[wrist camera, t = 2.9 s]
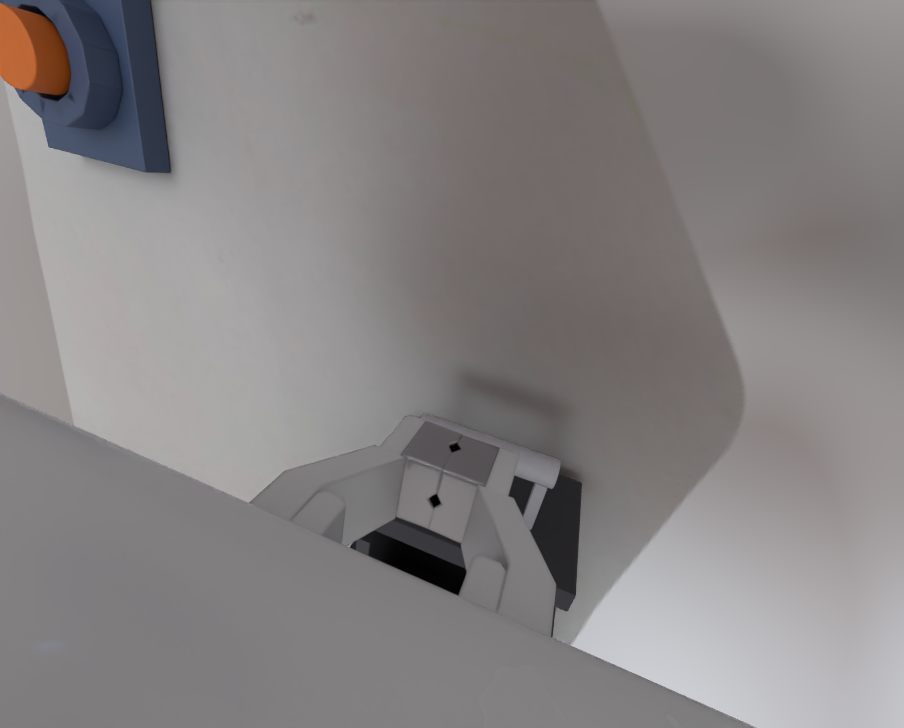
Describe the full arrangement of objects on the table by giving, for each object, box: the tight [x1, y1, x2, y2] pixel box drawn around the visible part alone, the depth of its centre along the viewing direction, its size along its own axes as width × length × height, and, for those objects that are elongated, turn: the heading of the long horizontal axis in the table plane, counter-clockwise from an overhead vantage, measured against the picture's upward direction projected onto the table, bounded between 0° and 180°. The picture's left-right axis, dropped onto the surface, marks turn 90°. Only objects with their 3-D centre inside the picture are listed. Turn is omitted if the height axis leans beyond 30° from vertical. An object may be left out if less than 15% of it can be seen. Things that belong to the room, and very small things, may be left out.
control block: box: [0, 0, 170, 173], centre depth 23 cm, size 10×8×4 cm
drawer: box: [356, 413, 582, 611], centre depth 24 cm, size 17×11×8 cm
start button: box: [0, 3, 72, 95], centre depth 21 cm, size 4×4×2 cm
